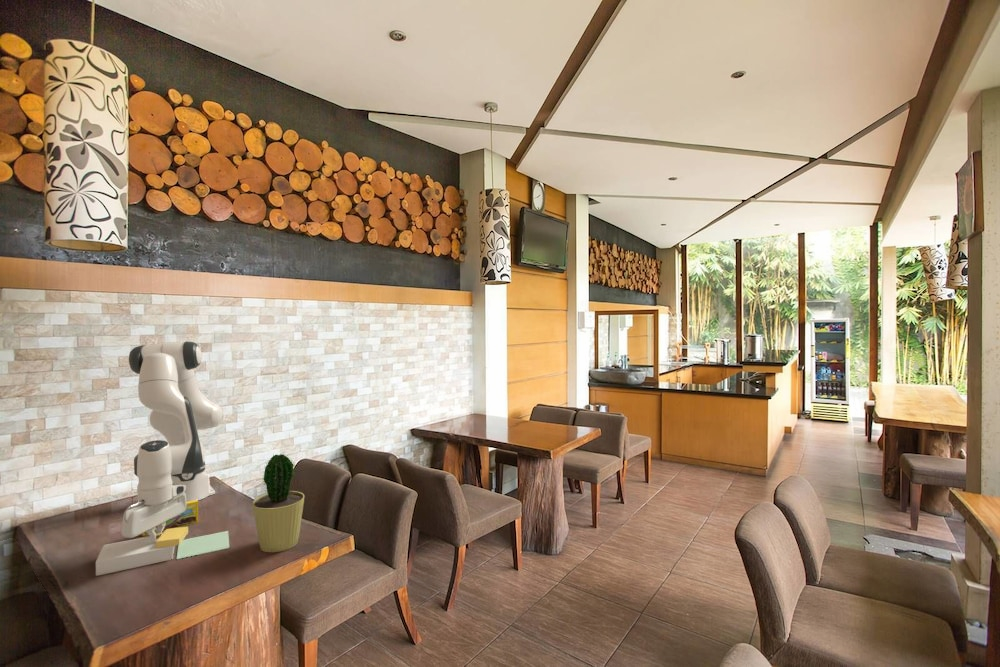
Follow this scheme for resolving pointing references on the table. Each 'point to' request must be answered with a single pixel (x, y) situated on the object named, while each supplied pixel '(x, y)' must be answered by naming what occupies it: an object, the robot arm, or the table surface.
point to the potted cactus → (278, 507)
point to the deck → (131, 555)
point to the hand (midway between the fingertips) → (156, 538)
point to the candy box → (182, 517)
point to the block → (172, 537)
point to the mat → (203, 545)
